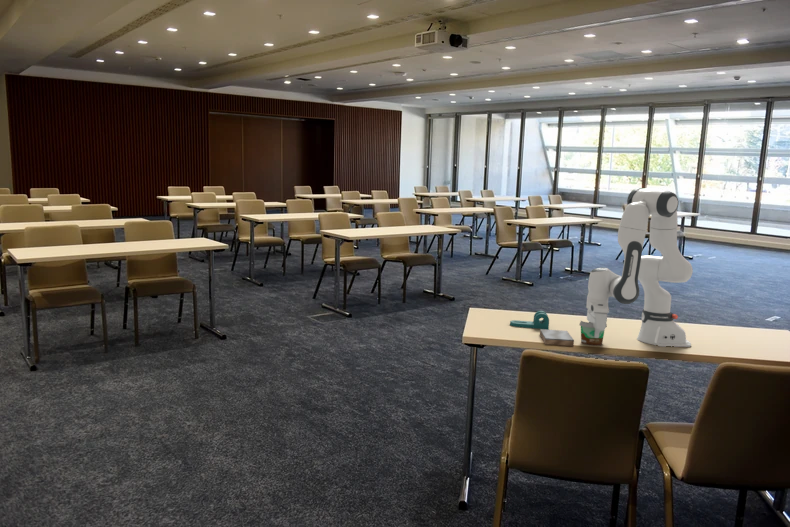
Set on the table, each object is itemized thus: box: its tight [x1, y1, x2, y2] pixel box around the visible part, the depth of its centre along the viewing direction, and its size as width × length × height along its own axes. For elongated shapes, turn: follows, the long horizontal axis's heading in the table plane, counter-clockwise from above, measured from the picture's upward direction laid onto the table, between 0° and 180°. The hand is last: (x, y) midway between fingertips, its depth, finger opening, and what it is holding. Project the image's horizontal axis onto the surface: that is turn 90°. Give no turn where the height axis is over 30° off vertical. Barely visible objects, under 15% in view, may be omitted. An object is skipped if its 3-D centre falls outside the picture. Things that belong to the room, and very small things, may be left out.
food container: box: [578, 320, 608, 347], centre depth 266 cm, size 12×6×10 cm, turn 101°
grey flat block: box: [539, 329, 575, 347], centre depth 270 cm, size 12×16×3 cm
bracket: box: [509, 310, 550, 330], centre depth 294 cm, size 18×7×8 cm, turn 81°
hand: (594, 335), depth 267 cm, fingers closed on food container, 5 cm apart
